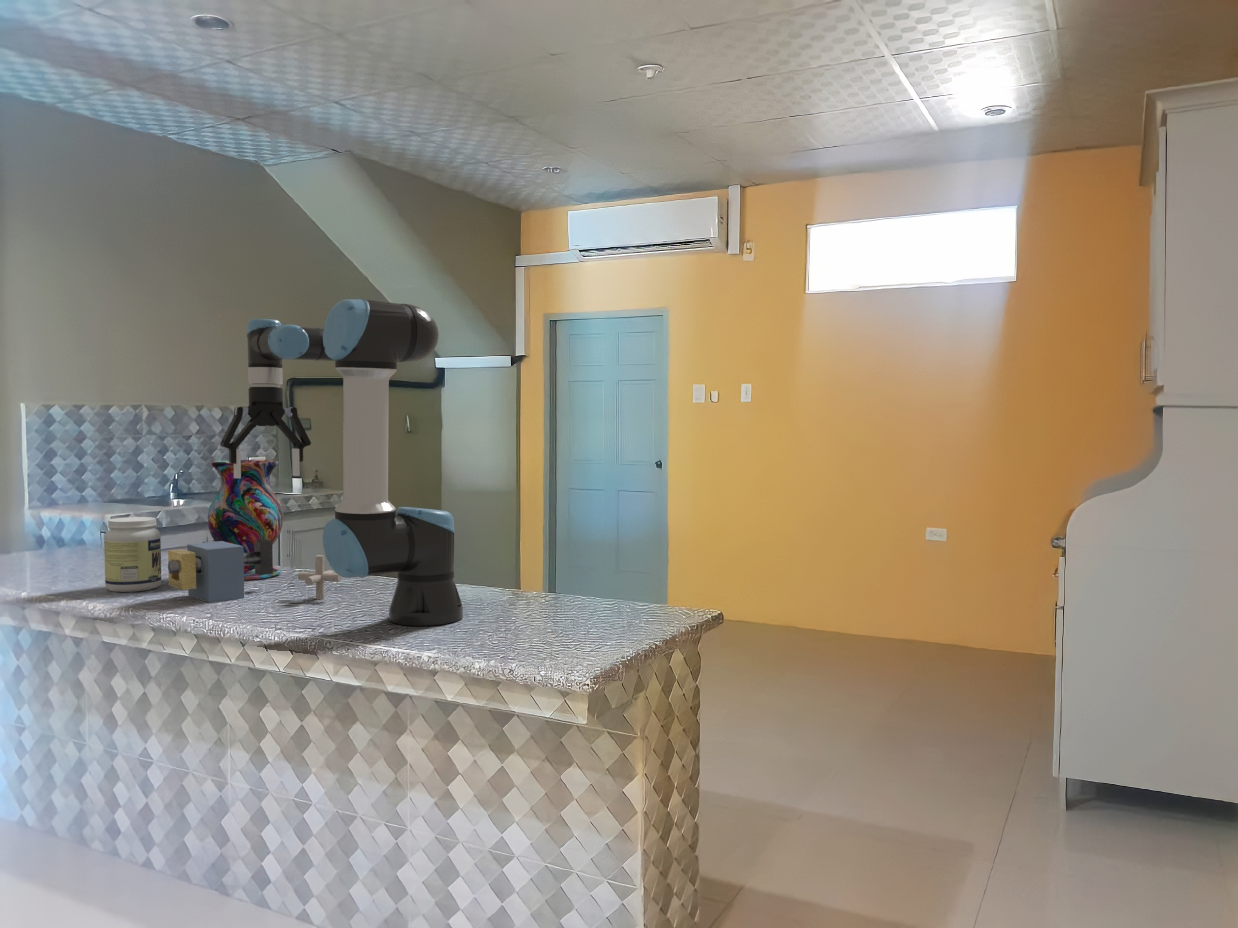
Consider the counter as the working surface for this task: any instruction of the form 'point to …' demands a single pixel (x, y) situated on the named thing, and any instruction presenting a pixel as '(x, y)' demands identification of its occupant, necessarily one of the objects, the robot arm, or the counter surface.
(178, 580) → the block
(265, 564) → the shaft
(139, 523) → the supplement tub
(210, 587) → the pillow block
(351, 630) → the counter surface
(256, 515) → the vase
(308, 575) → the pipe connector
